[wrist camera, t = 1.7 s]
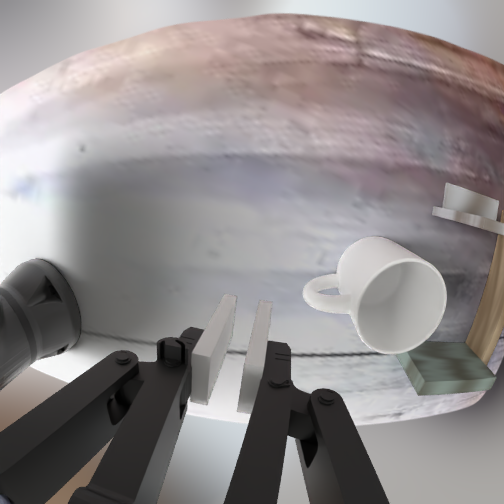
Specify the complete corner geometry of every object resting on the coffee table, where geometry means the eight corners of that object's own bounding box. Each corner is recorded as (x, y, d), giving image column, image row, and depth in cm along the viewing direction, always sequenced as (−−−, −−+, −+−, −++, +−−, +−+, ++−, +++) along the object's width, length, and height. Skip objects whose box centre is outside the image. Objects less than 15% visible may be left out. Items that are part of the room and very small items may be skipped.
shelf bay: (389, 362, 32) (414, 413, 23) (437, 180, 27) (489, 181, 17) (462, 363, 31) (494, 403, 22) (509, 205, 26) (560, 216, 16)
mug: (300, 310, 32) (305, 362, 22) (298, 237, 30) (305, 262, 20) (400, 304, 31) (437, 348, 21) (405, 233, 29) (452, 255, 19)
